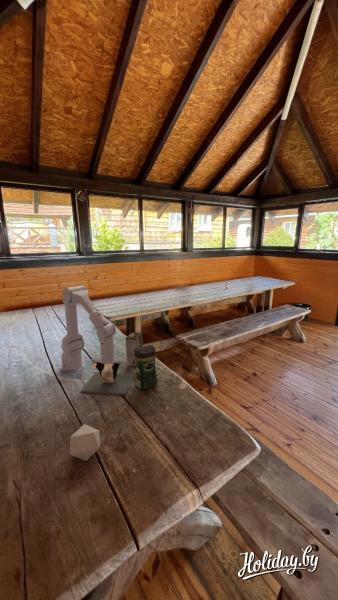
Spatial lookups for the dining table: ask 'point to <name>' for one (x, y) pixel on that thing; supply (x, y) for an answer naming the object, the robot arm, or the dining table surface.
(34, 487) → the dining table surface
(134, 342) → the coffee box
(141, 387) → the coffee jar
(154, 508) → the dining table surface
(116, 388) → the mat
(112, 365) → the tile
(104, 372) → the birch block
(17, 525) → the dining table surface
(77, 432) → the die
